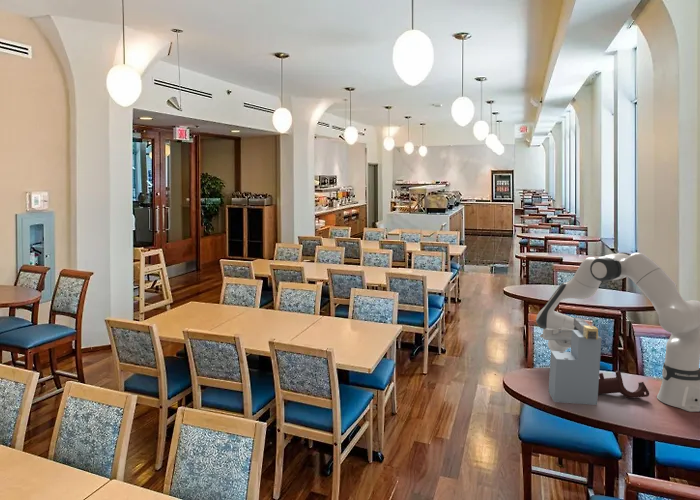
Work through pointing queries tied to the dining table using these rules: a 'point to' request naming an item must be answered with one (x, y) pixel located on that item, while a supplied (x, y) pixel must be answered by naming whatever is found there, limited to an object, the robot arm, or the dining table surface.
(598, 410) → the dining table surface
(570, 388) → the stepped stand
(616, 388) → the bracket
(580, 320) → the bar
